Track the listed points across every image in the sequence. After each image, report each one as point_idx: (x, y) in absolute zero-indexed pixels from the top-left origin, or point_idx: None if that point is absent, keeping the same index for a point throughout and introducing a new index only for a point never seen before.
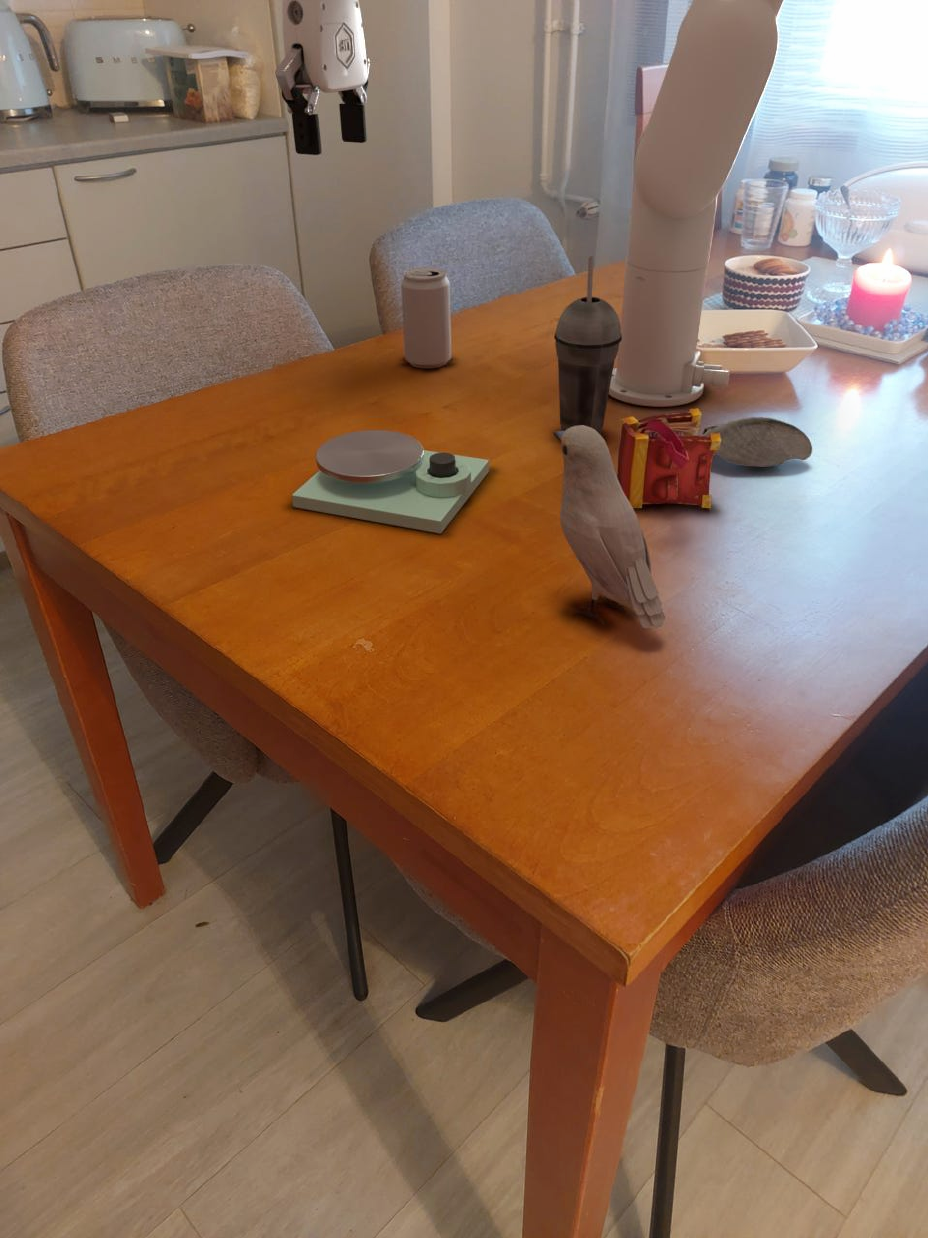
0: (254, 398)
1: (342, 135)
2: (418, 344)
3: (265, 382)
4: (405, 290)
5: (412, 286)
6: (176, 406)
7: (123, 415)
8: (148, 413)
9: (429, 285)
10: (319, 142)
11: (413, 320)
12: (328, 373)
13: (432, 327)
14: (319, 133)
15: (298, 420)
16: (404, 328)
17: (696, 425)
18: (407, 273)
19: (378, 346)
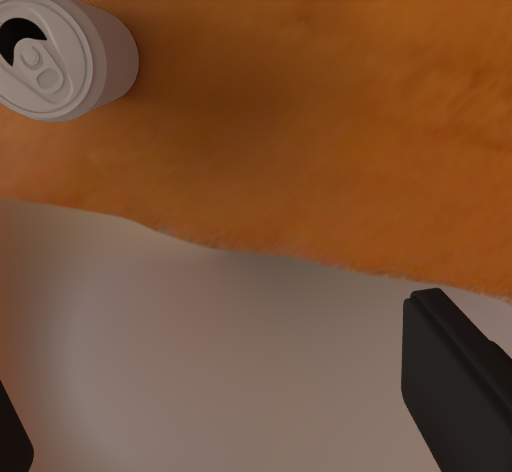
0: (370, 195)
1: (27, 470)
2: (129, 45)
3: (315, 224)
4: (108, 78)
5: (101, 55)
6: (434, 257)
7: (479, 285)
8: (464, 267)
9: (73, 11)
10: (449, 315)
11: (122, 54)
12: (239, 172)
13: (101, 13)
14: (466, 345)
15: (411, 82)
16: (121, 88)
17: None
18: (65, 101)
19: (95, 185)
